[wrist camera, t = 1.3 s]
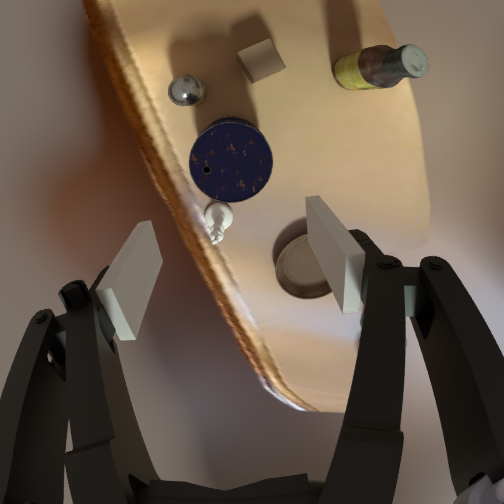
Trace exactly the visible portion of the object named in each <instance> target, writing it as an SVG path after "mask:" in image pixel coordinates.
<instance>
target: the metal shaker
mask: <svg viewBox="0 0 504 504" xmlns="http://www.w3.org/2000/svg"><path fill="white" fill-rule="evenodd" d="M168 95H169V98H170V99H171V101H172V102H173V103H175V104H176V105H179V106H193V105H197V104H199V103H200V102H201V101H202V100H203V99H204V97H205V95H206V88H205V85H204V84H203V83H202V82H201V81H200V80H198V79H197V78H195V77H194V76H191V75H180V76H178V77H176V78H175V79H174V80H172V82H171V83H170V85H169V88H168Z"/></svg>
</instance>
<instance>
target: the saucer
mask: <svg viewBox="0 0 504 504" xmlns="http://www.w3.org/2000/svg"><path fill="white" fill-rule="evenodd" d="M275 271H276V278H277V281H278V283H279V285H280V286H281V288H282V289H283V290H284V291H285V292H286V293H288V294H289V295H291V296H293V297H296V298H299V299H317V298H321V297H324V296H326V295H328V294H330V293H332V290H331V288H330V285H329V283H328V281H327V279H326V277H325V275H324V273H323V271H322V269H321V267H320V265H319V263H318V260H317V258H316V256H315V254H314V252H313V250H312V248H311V246H310V244H309V242H308V234H305V235H302V236H300V237H298V238H296V239H294V240H293V241H291V242H290V243H289V244H288V245H287V246H286V247H285V248H284V249H283V250H282V252H281V253H280V255H279V257H278V259H277V263H276V270H275Z"/></svg>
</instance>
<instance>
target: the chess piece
mask: <svg viewBox="0 0 504 504" xmlns="http://www.w3.org/2000/svg"><path fill="white" fill-rule="evenodd" d="M205 220H206V223H207V224H208V226H209V227H211V234H210V237H211V239H212V240H213V241H212V244H215V243H216V244H217V243H218V242H219V241H221V240H222V239H223V236H224V235H223V232H224V229H226V228H227V227H229V226H230V224H231V223H232V220H233V213H232V210H231V209H230V208H229V207H228V206H227V205H225V204H222V203H216V204H213V205H211V206H210V207H208V209H207V210H206V213H205Z"/></svg>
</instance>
